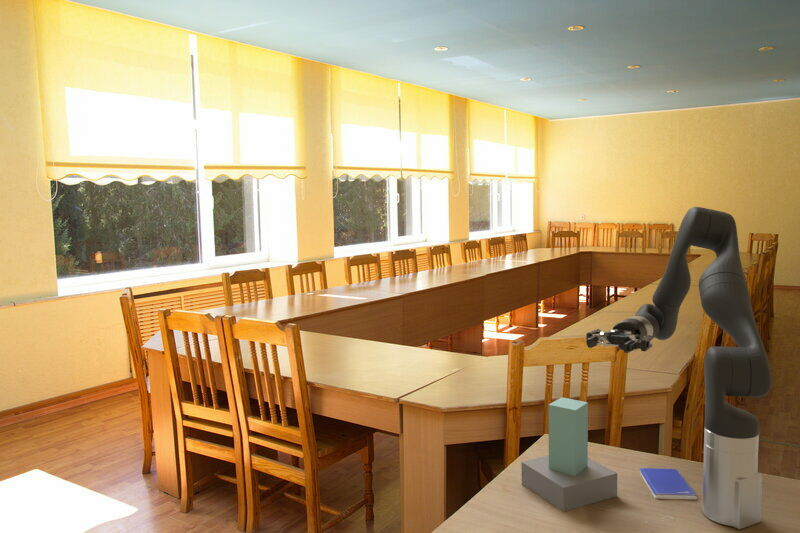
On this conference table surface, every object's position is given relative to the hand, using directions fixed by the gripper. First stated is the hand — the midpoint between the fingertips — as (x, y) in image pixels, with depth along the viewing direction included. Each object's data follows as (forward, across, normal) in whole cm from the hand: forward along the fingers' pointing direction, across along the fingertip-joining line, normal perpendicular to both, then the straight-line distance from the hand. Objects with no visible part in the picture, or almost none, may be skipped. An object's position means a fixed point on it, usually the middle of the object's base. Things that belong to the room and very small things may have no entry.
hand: (607, 346), depth 144 cm
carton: (+17, -1, +23) cm, 29 cm away
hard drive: (+3, +14, +29) cm, 32 cm away
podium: (+17, -1, +28) cm, 33 cm away
